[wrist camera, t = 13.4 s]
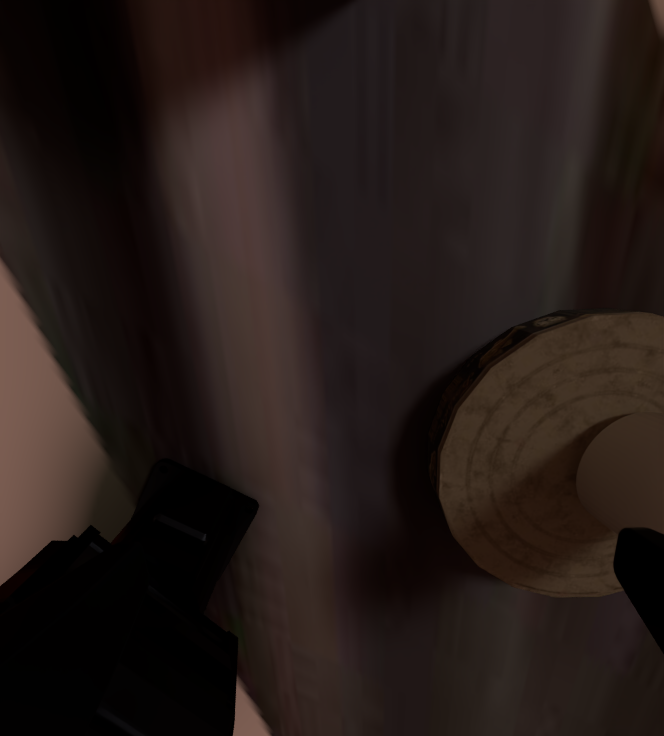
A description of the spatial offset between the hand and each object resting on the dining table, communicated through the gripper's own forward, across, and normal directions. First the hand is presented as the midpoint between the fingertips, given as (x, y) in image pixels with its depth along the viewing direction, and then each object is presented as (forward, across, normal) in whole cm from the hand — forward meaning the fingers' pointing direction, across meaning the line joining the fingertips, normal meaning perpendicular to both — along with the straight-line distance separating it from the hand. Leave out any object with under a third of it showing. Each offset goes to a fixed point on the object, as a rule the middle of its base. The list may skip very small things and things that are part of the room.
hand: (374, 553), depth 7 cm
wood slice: (+14, -12, +5) cm, 19 cm away
